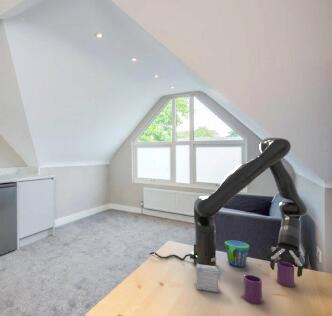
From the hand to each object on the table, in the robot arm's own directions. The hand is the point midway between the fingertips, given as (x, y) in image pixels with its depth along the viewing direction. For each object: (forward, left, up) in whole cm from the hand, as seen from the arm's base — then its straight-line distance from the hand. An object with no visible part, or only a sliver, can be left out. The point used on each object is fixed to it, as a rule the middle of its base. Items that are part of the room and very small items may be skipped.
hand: (285, 272), depth 102 cm
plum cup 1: (-7, -22, -5) cm, 23 cm away
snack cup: (-20, +7, -5) cm, 22 cm away
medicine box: (-22, -26, -5) cm, 34 cm away
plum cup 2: (0, +1, -5) cm, 5 cm away
